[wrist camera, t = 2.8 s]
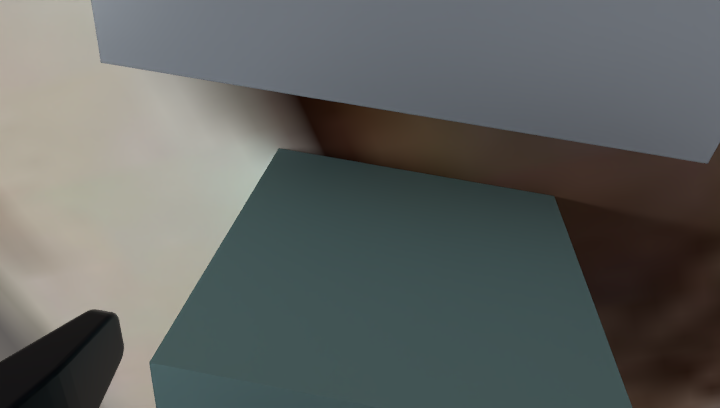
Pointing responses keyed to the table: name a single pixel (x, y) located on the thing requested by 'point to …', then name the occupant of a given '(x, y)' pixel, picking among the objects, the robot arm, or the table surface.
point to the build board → (455, 60)
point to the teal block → (388, 300)
